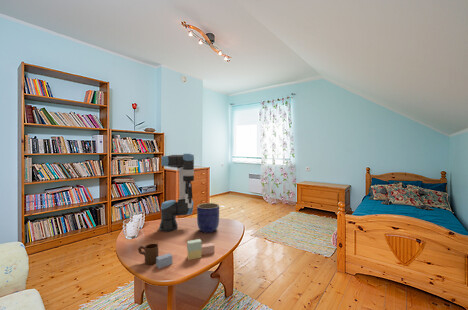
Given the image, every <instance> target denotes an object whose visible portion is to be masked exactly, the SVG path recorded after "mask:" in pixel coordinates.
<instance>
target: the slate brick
mask: <svg viewBox="0 0 468 310" xmlns="http://www.w3.org/2000/svg"><path fill="white" fill-rule="evenodd" d="M171 265H173V255H172V254H171V253H170V252H169V253H165V254H162V255H158V257H156V263H155V266H156V268H158V269H161V268H164V267H168V266H171Z"/></svg>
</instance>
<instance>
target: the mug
mask: <svg viewBox="0 0 468 310" xmlns="http://www.w3.org/2000/svg"><path fill="white" fill-rule="evenodd" d="M143 250H144V251H143ZM138 253H139V254H140V255H143V256H144V263H145V265H147V266H149V265H150V266H151V265H154V264H155V265H156V257H158V256H159V244H158V243H149V244H146V245H139V247H138Z"/></svg>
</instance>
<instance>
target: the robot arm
mask: <svg viewBox="0 0 468 310" xmlns="http://www.w3.org/2000/svg"><path fill="white" fill-rule="evenodd" d="M160 159H161V161H160V162H161V167H168V168H173V169H174V168H177V171H178V178H179V179H178V180H179V181H178V182H179V187H178V188H179V198H178V199H177V201H176V200H175V199H170V200H166V201H163V202H161V205H160V213H161V214H160V215H161V216H160V217H161V219H160V223H159V225H158V230H159V231H160V232H162V233H167V232H168V233H169V232H173V231H177V229H178V228H179V227H178V222H177V217H179V216H189V215H190V216H191V215H192V214H193V211H194V200H193V183H192V182H193V181H195V176H194V175H195V155H194V153H183V154H169V155H161V157H160Z"/></svg>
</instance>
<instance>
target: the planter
mask: <svg viewBox="0 0 468 310" xmlns="http://www.w3.org/2000/svg"><path fill="white" fill-rule="evenodd" d="M196 222H197V227H198V229H199V230H200V232H202V233H206V234H209V233H214V232H216V230H217V229H218V227H219V225H220V205H219V204H217V203H214V202H206V203H205V202H203V203H200V204H198V205H197V206H196Z"/></svg>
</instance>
